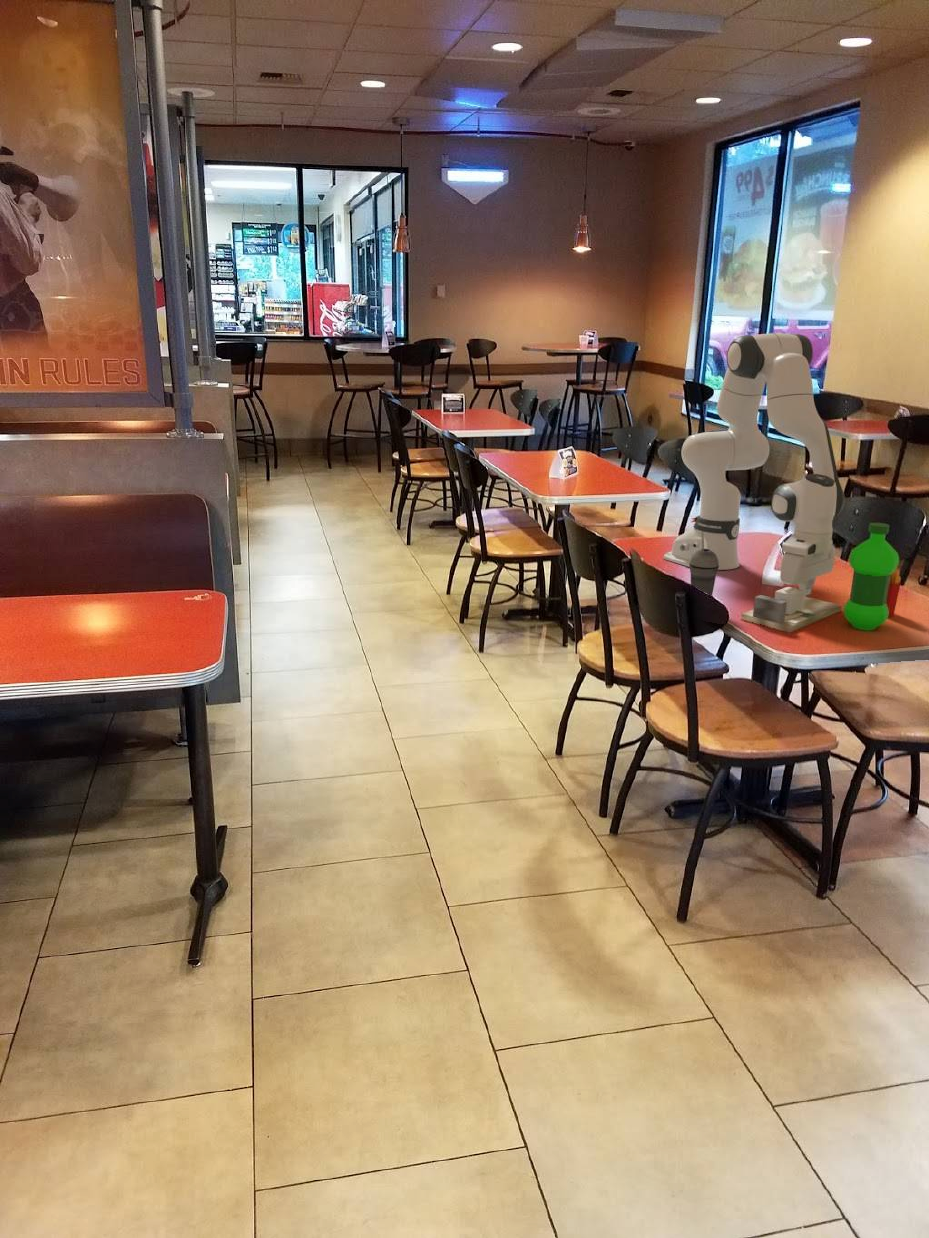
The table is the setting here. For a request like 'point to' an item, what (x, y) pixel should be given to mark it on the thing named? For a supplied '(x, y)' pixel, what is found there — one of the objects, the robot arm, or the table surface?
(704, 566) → the beverage cup
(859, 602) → the plastic bottle
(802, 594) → the block
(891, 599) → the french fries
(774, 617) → the frame
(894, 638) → the table surface
